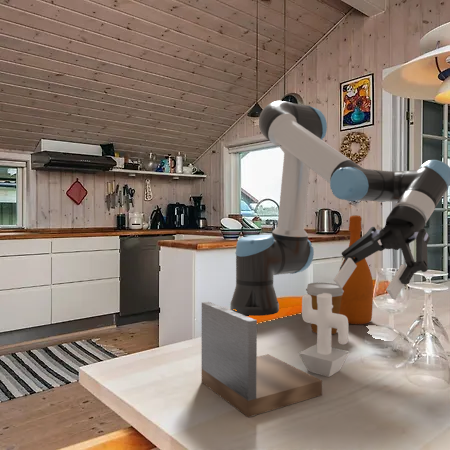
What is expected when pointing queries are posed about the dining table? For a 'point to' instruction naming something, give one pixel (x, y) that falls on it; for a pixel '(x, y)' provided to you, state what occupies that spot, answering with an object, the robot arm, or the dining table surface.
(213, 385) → the walnut shelf board
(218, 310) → the grey metal bookend
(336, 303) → the disposable coffee cup
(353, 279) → the wine bottle
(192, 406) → the dining table surface
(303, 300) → the figurine
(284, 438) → the dining table surface
